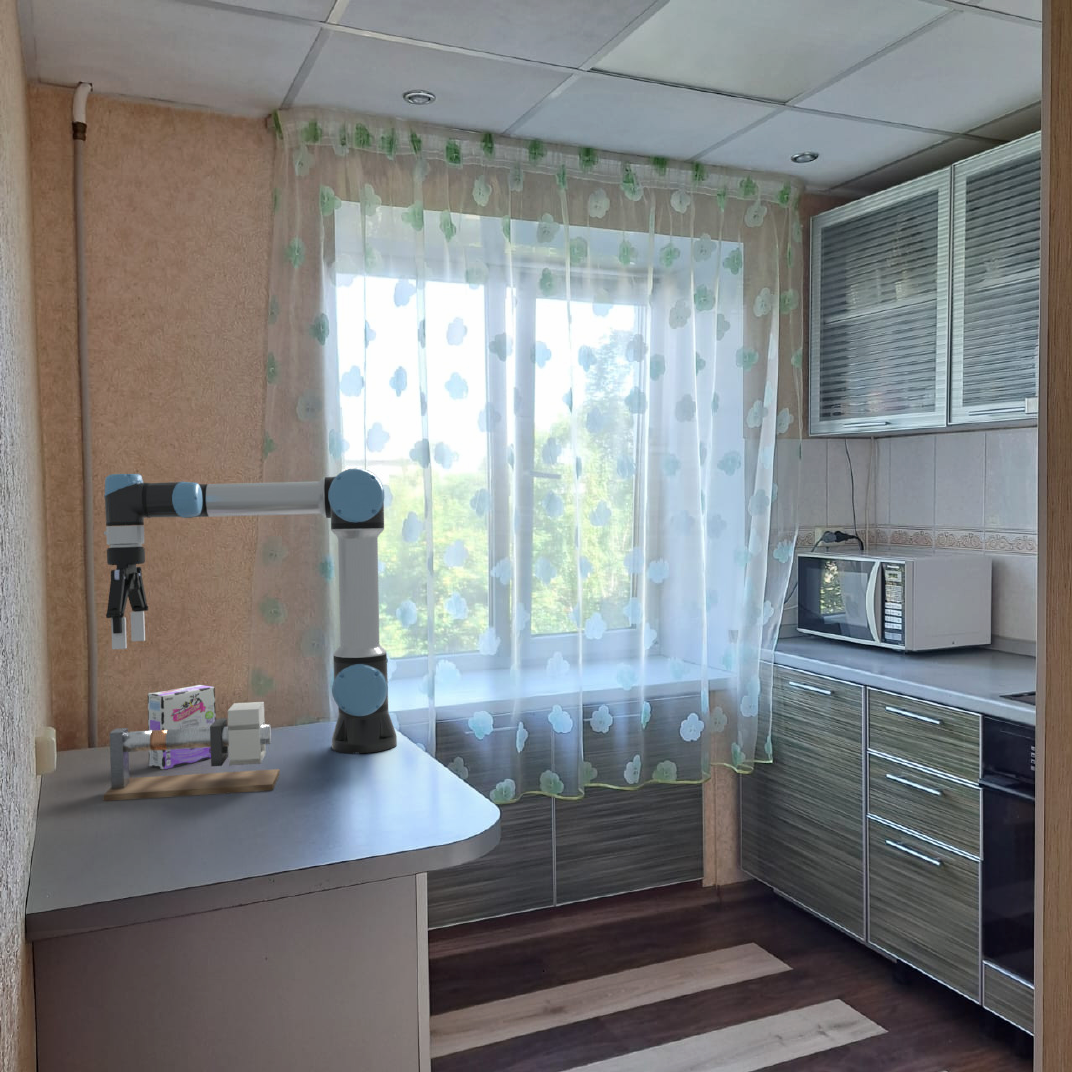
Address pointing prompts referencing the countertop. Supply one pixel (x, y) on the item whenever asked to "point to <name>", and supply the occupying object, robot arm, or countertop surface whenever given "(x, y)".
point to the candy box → (180, 721)
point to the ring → (218, 742)
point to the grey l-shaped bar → (160, 745)
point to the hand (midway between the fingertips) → (129, 645)
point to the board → (195, 784)
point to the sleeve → (245, 733)
